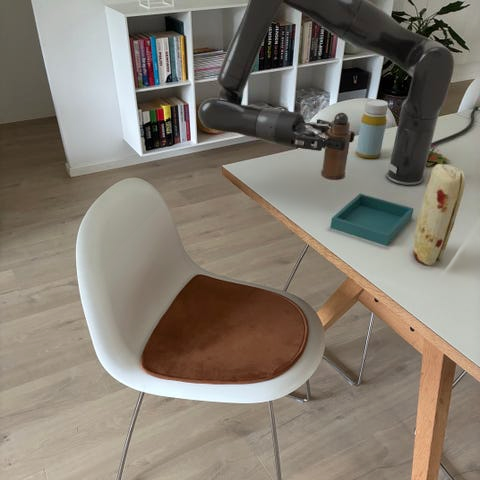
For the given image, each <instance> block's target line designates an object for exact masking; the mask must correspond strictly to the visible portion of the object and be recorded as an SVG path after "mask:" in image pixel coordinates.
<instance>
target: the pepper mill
mask: <svg viewBox="0 0 480 480" xmlns="http://www.w3.org/2000/svg"><path fill="white" fill-rule="evenodd" d="M330 122H331V129H329V130H328V131H327V136H328V137H329V138H330V137H333V138H338V139H343V140H345V141H346V146H345V149H344V150H343V151H341V150H336V149H331V148H328V147H327V149H324V154H323V161H322V169H321V170H320V176H321V177H322V178H323V179H326V180H331V181H341V180H343V179H345V178H346V168H347V162H348V155H349V149H350V144H351V142H350V137H351V132H350V131H351V130H350V125H351V124H350V122H349V117H348V114H347V113H345V112H338V113H337V114H335V116H334V117H333V120H332V121H330Z"/></svg>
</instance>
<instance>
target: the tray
mask: <svg viewBox="0 0 480 480" xmlns="http://www.w3.org/2000/svg"><path fill="white" fill-rule="evenodd" d="M414 210H415V208H413V207H409V206H406V205H403V204H400V203H395V202H391V201H388V200H384V199H381V198H378V197H374V196H371V195H367V194H364V193H359V194H358V195H356V196H355V197H354V198H353V199H352V200H350V201H349V202H348V203H347V204H346V205H345V206H344V207H343V208H341V209H339V211H338V212H336V214H335V215H333V216H332V217H331V221H330V229H332V230H335V231H339V232H341V233H344V234H347V235H351V236H353V237H357V238H360V239H363V240H367V241H370V242H373V243H376V244H379V245H382V246H385V247H388V246H389V244H390V243H391V242H392V241H393V240H394V239H395V238H396V237H397V236H398V234H399V233H400V232H401V231H402V230H403V229H404V228H405V226H406V225H407V224H409V222H410V221H411V220H412V218H413V213H414Z"/></svg>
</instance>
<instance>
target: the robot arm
mask: <svg viewBox="0 0 480 480" xmlns="http://www.w3.org/2000/svg"><path fill="white" fill-rule="evenodd" d="M282 5H285V6H287V7H289V8H292V9H294V10H296V11H298V12H299V13H302V14H303V15H305V16H306V17H307V18H309V19H310V20H311V21H312V22H314V23H315V24H317V25H318V26H320V27H321V28H323V29H324V30H326V32H329V33H330V34H332V35H334V36H335V37H336V38H338V39H340V40H342V41H343V42H345V43H347V44H349V45H350V46H352V47H355V48H357V49H359V50H362V51H365V52H367V53H371V54H374V55H378V56H381V57H383V58H386V59H387V60H390V61H391V62H392V63H394V64H395V65H396V66H398V67H400V69H402V70H403V71H405V72H406V73H407V74H408V75H409V76H410V77H411V82H410V86H409V90H408V94H407V97H406V98H405V99H404V100H403V101H402V104H401V108H400V113H399V119H398V123H397V129H396V133H395V137H394V143H393V147H392V153H391V157H390V161H389V162H388V166H387V169H388V172H387V173H386V174H387V175H386V178H387V179H388V180H389V181H390V182H392V183H394V184H396V185H397V184H398V185H401V186H417V185H420V184H422V182H423V180H424V174H425V170H426V168H427V167H426V166H427V165H426V163H427V159H428V155H429V151H431V148H432V147H435V146H437V145H439V144H441V143H443V142H447V141H448V140H451V139H454V138H456V137H458V136H461V135H462V134H464V133H466V132H467V131H468V130H469V129H470V128H471V127H472V126H473V124H474V121H475V113H476V111H479V106H477V105H476V106H474V107H473V109H472V111H471V113H470V122H469V124H468V125H467V126H466V127H465V128H463V129H462V130H460V131H458V132H456V133H453V134H451V135H448V136H446V137H443V138H441V139H438V140H435V141H433V138H434V135H435V130H436V126H437V122H438V118H439V115H440V111H441V110H442V108H443V106H444V105H445V103H446V99H447V96H448V92H449V89H450V86H451V82H452V78H453V75H454V70H455V58H454V55H453V53H452V51H451V50H450V49H449V48H447V47H446V46H445V45H444V44H442V43H441V42H439V41H437V40H434V39H431V38H428V37H426V36H423V35H421V34H419V33H416V32H414V31H412V30H410V29H408V28H406V27H404V26H403V25H401V24H400V23H399V22H398V21H397V20H396V19H394V18H393V17H392V16H391V15H390V14H389V13H387V12H386V11H385V10H383V8H380V7H379V6H378V5H376V4H375V3H374V2H371V1H370V0H248V1H247V6H246V8H245V10H244V13H243V16H242V18H241V20H240V23H239V25H238V27H237V29H236V31H235V33H234V35H233V37H232V39H231V41H230V43H229V45H228V48H227V50H226V53H225V55H224V58H223V60H222V63H221V65H220V68H219V70H218V74H217V76H216V83H217V85H218V86H219V91H218V95H217V97H210V98H207V99H205V100H204V101H202V102H201V104H200V105H199V108H198V113H197V114H198V119H199V121H200V123H201V124H202V125H203V126H204V127H205V128H207V129H209V130H214V131H219V132H226V133H234V134H238V135H241V136H244V137H248V138H252V139H256V140H261V141H263V142H266V143H271V144H274V145H278V146H279V145H280V146H283V147H288V148H295V149H301V150H308V151H310V150H311V151H316V152H317V151H318V152H322V150H325V149H327V147H328V148H331V149H336V150H341V151H343V150H344V149H345V146H346V141H345V140H343V139H338V138H333V137H330V138H329V137H328V136H327V131H328V130H329V129H331V122H332V121H329V120H328V121H327V120H324V119H320V118H318V119H316V121H309V122H305V119H304V116H303V114H302V113H300V112H294V111H290V110H285V109H280V108H275V107H263V106H258V105H250V104H242V103H243V98H244V92H245V88H246V86H247V84H248V82H249V79H250V77H251V75H252V72H253V71H254V70H253V69H254V67H255V64H256V62H257V59H258V57H259V55H260V53H261V52H260V51H261V49H262V46H263V43H264V41H265V39H266V36H267V33H268V31H269V29H270V27H271V25H272V23H273V21H274V18H275V17H276V15H277V13H278V11H279V9H280V7H281V6H282ZM349 131H350V132H351V137H350V143H353V142H354V140H355V137H356V133H355V132H354V131H351V130H349ZM431 146H432V147H431Z"/></svg>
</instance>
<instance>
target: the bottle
mask: <svg viewBox="0 0 480 480" xmlns="http://www.w3.org/2000/svg"><path fill="white" fill-rule="evenodd" d="M388 108H389V102H388V101H386V100H383V99H374V98H373V99H372V98H371V99H367V100H366V101H365V104H364V111H363V115H362V117H361V120H360V126H359V132H358V138H357V144H356V151H355V152H356V154H357V156H358V157H359V158H361V159H365V160H374V159H377V158H379V156H380V155H381V152H382V146H383V143H384V136H385V131H386V127H387V121H388V120H387V112H388Z"/></svg>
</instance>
